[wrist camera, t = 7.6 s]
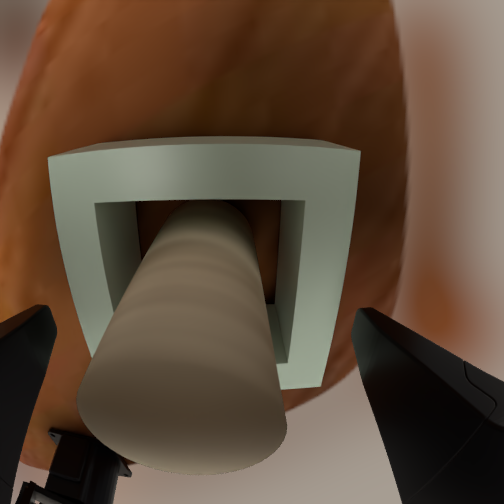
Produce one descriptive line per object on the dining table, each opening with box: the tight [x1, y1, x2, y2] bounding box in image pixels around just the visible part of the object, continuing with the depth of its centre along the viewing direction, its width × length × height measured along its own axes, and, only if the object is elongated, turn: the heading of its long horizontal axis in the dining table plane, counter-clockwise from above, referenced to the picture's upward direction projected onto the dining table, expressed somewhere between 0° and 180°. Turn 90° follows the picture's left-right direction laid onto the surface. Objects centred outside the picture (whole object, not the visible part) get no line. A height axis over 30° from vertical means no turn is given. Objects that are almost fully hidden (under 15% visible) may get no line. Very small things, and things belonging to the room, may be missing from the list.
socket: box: [48, 136, 361, 389], centre depth 11 cm, size 9×9×4 cm
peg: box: [76, 199, 287, 475], centre depth 9 cm, size 4×4×9 cm
